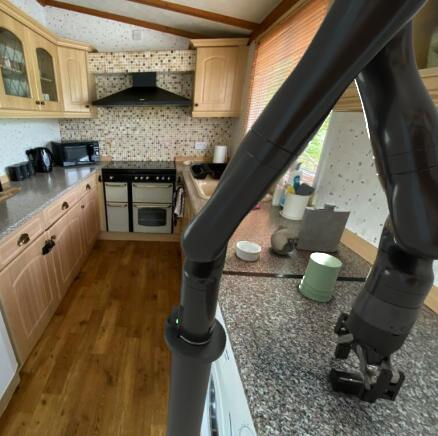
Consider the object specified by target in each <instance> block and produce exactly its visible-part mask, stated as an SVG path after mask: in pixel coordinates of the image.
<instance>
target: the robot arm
mask: <svg viewBox="0 0 438 436" xmlns="http://www.w3.org/2000/svg"><path fill="white" fill-rule="evenodd" d="M428 2H429V0H333V1H332V4H331V5H330V7H329V8H328V10H327V13H326V14H325V16H324V18H323V20H322V22H321V24H320V25H319V27H318V29H317V30H316V32H315V33H314V35H313V37H312V39H311V40H310V43H309V44H308V46H307V48H306V49H305V51H304V53H303V54H302V56H301V57H300V59H299V60H298V62H297V64H296V65H295V67H294V68H293V69H292V71H291V72H290V74H289V75H288V76H287V77H286V79H285V80H284V81H283V83H282V84H281V85H280V87H278V89H277V90H276V91H275V93H274V94H273V95H272V96H271V98H270V100H269V101H268V102H267V104H266V105H265V107H264V108H263V109H262V111H261V113H259V115H258V116H257V118H256V119H255V121H254V122H253V123H252V124H251V126H250V127H249V129H248V131H247V133H246V134H245V135H244V137H243V138H242V140H241V142H240V143H239V145H238V146H237V148H236V150H235V151H234V153H233V155H232V156H231V158H230V160H229V162H227V165H226V167H225V169H224V171H223V173H222V174H221V176H220V178H219V180H218V182H217V184H216V186H215V188H214V190H213V192H212V194H211V196H210V197H209V199H208V200H207V201H206V203H205V204H204V205H203V207H202V208H201V209H200V210H199V211H198V213H197V214H196V215H194V216H193V217H192V218H191V219H190V220H189V222H188V223H187V224H186V225H185V226H184V228H183V230H182V232H181V236H180V247H181V251H182V253H183V254H184V256H185V257H184V260H183V263H182V266H181V275H180V276H181V279H180V291H179V301H178V306H177V305H172V306H171V314H170V315H168V316H167V317H166V320H167V322H168V323H169V324H170V329H176V330H177V335H176V337H177V338H181V339H182V340H183V341H184V342H186V343H187V344H190V345H193V346H203V345H206V344H208V343H209V342H210V341H211V340H212V337H213V329H214V326H215V325H216V322H215V318H216V314H217V310H218V302H219V296H220V290H221V284H222V279H223V278H222V277H223V273H224V269H225V265H226V258H227V252H228V246H229V242H230V240H231V239H232V237H233V236H234V234H235V232H237V229H238V228H239V226H240V225H241V224H242V222H243V221H244V220H245V219H246V218H247V216H248V215H249V214H250V213H251V212H252V211H253V210H255V209H254V208H255V207H256V206H257V205H258V204H259V203H260V201H261V202H262V201H263V200H264V198H266V196H267V195H268V194H269V193H271V191H272V190H273V189H274V187H275V186H276V185H277V184H278V183H279V182H280V181H281V180H282V178H284V176H285V175H286V174H287V173H288V172H289V170H290V169H291V168H292V167H293V165H294V164H295V163H296V162H297V161H298V159H300V157H301V156H302V154H303V153H304V152H305V150H306V149H307V148H308V146H309V145H310V144H311V142H312V140H313V139H314V138H315V137H316V135H317V134H318V132H319V131H320V130H321V129H322V127H323V125H324V124H325V122H327V119H328V118H329V116H331V113H332V112H333V110H334V109H335V107H336V105H338V103H339V101H340V99H341V98H342V96H343V95H344V94H345V93H346V91H347V89H349V88H350V86H351V85H352V83H353V82H354V81H355V85H356V87H357V92H358V94H359V97H360V101H361V105H362V110H363V113H364V119H365V123H366V129H367V134H368V139H369V143H370V149H371V154H372V159H373V163H374V167H375V172H376V175H377V176H376V177H377V180H378V182H379V185H380V187H381V189H382V191H383V192H384V194H385V197H386V204H387V209H388V215H387V216H386V219H385V221H384V224H383V227H382V230H381V233H380V239H379V241H378V247H377V252H376V255H375V259H374V261H373V263H372V265H371V266H370V269H369V271H368V274H367V276H366V278H365V281H364V283H363V285H362V287H361V288H360V290H359V291H358V293H357V295H356V297H355V300H354V302H353V305H352V307H351V310H350V312H345V311H341V312H340V315H339V317H338V319H337V321H336V323H335V325H334V328H333V333H334V334H335V335H337V337H336V342H337V343H336V346H335V349H334V353H333V356H334V358H335V359H337V360H347V359H348V358H349V355H350V353H351V352H353V353H354V354H355V355H356V357H357V359H358V362H359V370H360V372H361V374H363V380H364V384H363V385H362V387H361V389H360V391H359V393H358V395H356V396H357V398H358V400H359V402H363V403H367V404H376V401H377V400H378V399H380V400H385V401H390V402H395V400H396V399H397V396H398V395H399V392H400V390H401V388H402V386H403V384H404V382H405V380H406V375H405V373H404V372H403V371H401V370H396V369H395V368H394V366H393V365H392V364H391V357H392V354H394V353H396V352H397V351H400V350H401V349H402V347H403V346H404V344H405V342H406V340H407V338H408V336H409V335H410V333H411V331H412V329H413V328H414V326H415V324H416V322H417V321H418V318H419V315H420V312H421V309H422V306H423V304H424V302H425V301H426V299H427V297H428V296H429V293H430V292H431V290H432V289H433V286H434V283H435V273H434V262H435V261H438V107H437V106H436V103H435V101H434V99H433V98H432V96H431V94H430V92H429V90H428V88H427V86H426V85H425V83H424V81H423V78H422V75H421V73H420V71H419V67H418V64H417V60H416V55H415V49H414V18H415V16H416V15H417V14H418V13H420V11H421V10H422V9H423V8H424V7H425V5H426V4H427V3H428ZM214 322H215V324H214ZM368 366H372V367H377V369H371V368H369V367H368ZM372 377H375V378H376V381H375V382H373V378H372Z"/></svg>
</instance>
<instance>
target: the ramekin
mask: <svg viewBox="0 0 438 436" xmlns="http://www.w3.org/2000/svg"><path fill="white" fill-rule="evenodd" d="M235 246H236V251H235V254H236V257H238V258H239V259H241V260H243V261H247V262H256V261H257V260H258V259H259V256H260V254H261V251H262V248H261V246H260V245H259V244H257V243H256V242H252V241H248V240H243V241H242V240H241V241H238V242H237V243H236V245H235Z"/></svg>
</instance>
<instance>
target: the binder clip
mask: <svg viewBox="0 0 438 436" xmlns="http://www.w3.org/2000/svg"><path fill="white" fill-rule="evenodd" d="M327 378H328V380H329V383H330V384H331V386H332V389H333V390H334V391H335V392H340V393H344V394H349V395H356V396H357V395H358V393H359V391H360V389H361V387H362V385H363V384H364V378H363V377H362V375H361V374H360V372H355V371H350V370H345V369H340V368H333V367H331V368H330V371H329V373H328V374H327Z"/></svg>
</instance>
